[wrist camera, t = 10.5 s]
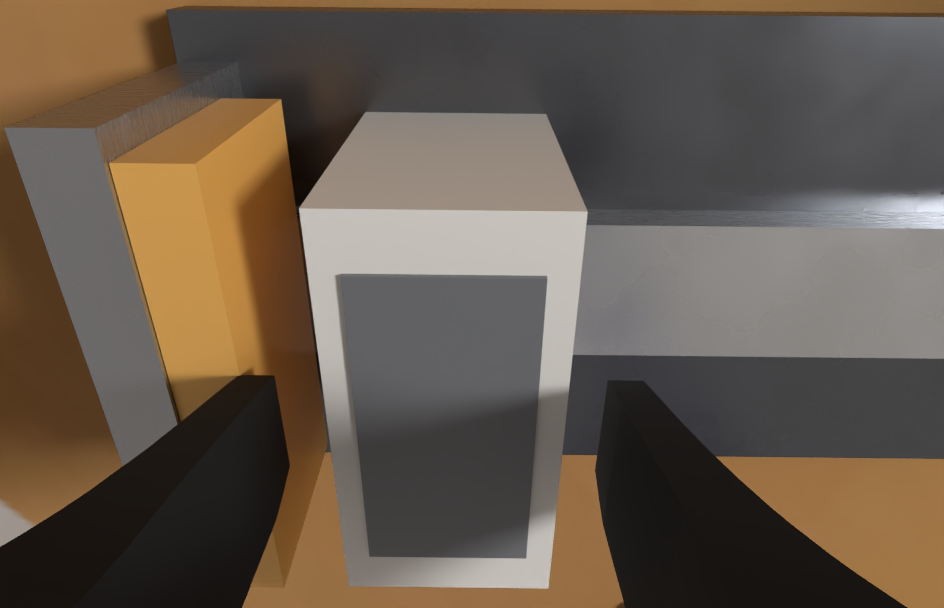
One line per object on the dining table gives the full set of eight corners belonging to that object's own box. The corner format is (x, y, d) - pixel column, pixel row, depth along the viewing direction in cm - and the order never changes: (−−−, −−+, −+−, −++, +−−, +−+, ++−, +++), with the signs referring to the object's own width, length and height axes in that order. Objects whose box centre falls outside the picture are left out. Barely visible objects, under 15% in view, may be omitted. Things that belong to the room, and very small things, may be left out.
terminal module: (527, 401, 18) (548, 592, 13) (386, 399, 18) (347, 590, 13) (546, 113, 14) (588, 214, 9) (365, 111, 14) (297, 211, 9)
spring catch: (327, 443, 17) (284, 587, 13) (283, 443, 17) (226, 587, 13) (281, 98, 13) (195, 163, 9) (221, 98, 13) (108, 163, 9)
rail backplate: (971, 436, 20) (1185, 646, 14) (267, 429, 20) (177, 635, 14) (1187, 15, 14) (1722, 64, 8) (185, 5, 14) (-33, 47, 8)
